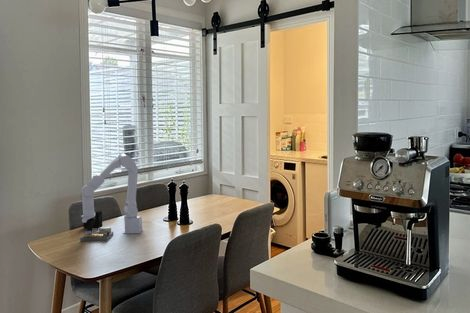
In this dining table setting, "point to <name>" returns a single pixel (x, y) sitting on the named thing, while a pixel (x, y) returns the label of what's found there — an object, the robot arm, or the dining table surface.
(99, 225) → the electronic device
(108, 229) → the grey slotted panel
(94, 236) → the strap
